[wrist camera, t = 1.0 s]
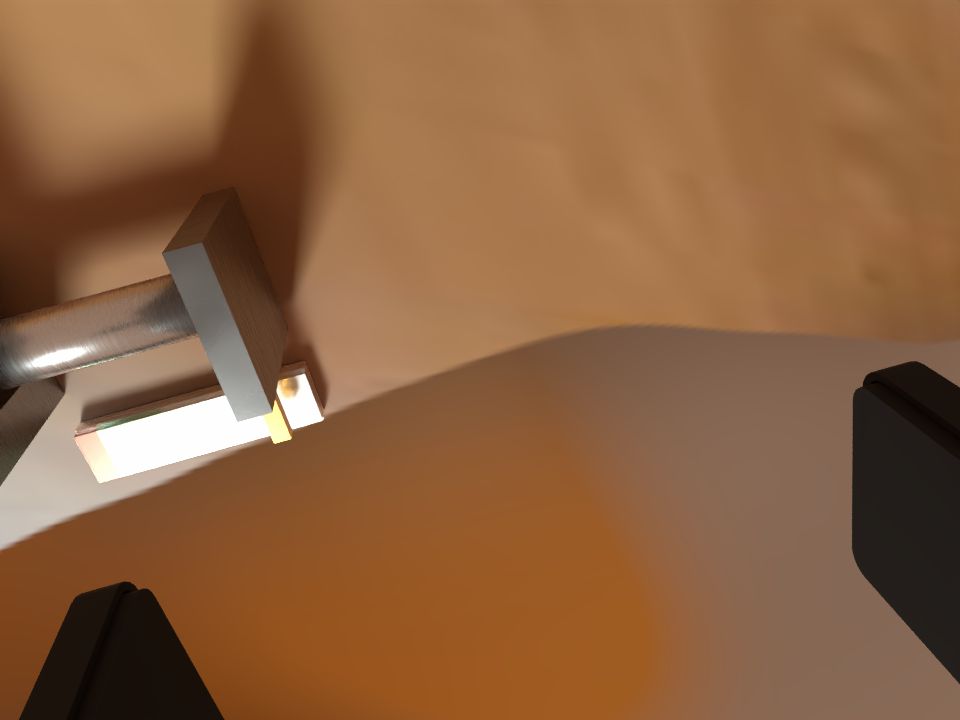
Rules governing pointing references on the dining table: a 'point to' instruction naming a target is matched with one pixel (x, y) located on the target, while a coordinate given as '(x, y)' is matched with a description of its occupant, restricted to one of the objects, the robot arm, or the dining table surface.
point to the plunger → (172, 317)
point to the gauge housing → (150, 424)
